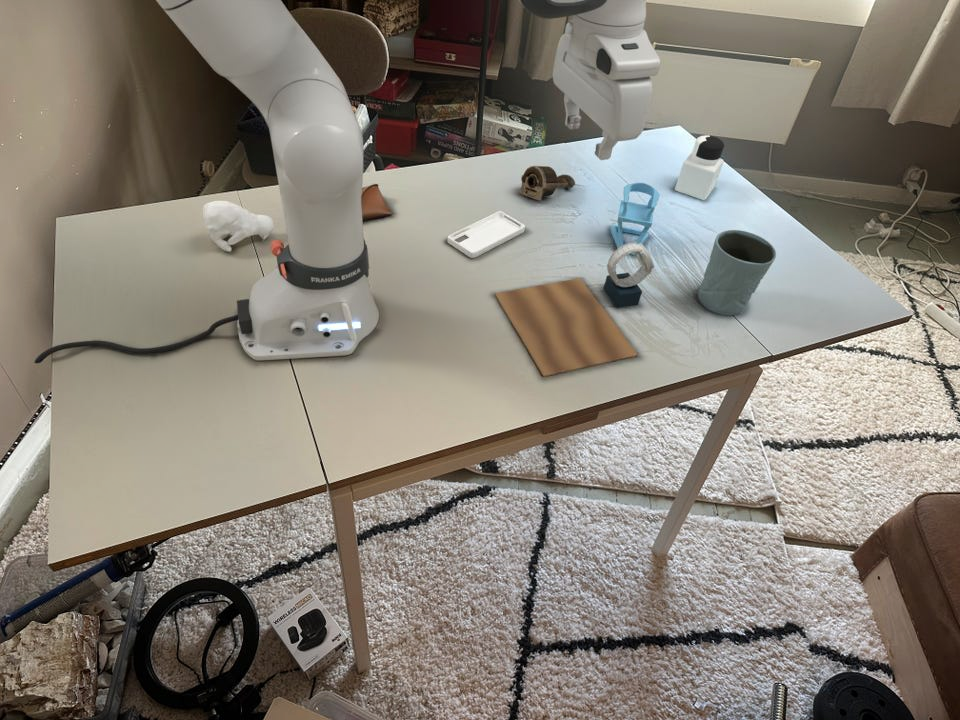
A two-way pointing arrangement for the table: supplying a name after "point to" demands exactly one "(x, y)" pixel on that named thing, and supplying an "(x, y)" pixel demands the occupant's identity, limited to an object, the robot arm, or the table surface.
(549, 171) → the mechanical counter
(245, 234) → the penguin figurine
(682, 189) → the medicine bottle
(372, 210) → the sunglasses case
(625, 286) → the watch
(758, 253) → the grey-green cylindrical cup
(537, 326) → the wooden board
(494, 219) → the phone case
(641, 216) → the chair
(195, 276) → the table surface
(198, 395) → the table surface
